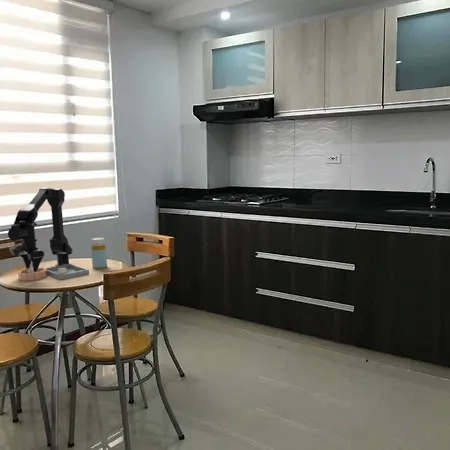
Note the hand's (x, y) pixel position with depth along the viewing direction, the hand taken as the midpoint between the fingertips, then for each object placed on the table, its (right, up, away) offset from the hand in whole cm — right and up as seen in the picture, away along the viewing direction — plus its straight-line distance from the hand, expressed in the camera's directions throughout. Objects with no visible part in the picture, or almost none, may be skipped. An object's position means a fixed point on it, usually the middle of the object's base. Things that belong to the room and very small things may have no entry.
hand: (31, 270), depth 219 cm
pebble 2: (-1, -3, +5) cm, 5 cm away
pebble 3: (+14, -3, +1) cm, 15 cm away
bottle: (+27, -1, +18) cm, 32 cm away
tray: (+13, -3, +8) cm, 15 cm away
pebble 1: (0, -4, 0) cm, 4 cm away
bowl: (0, -4, +3) cm, 5 cm away
